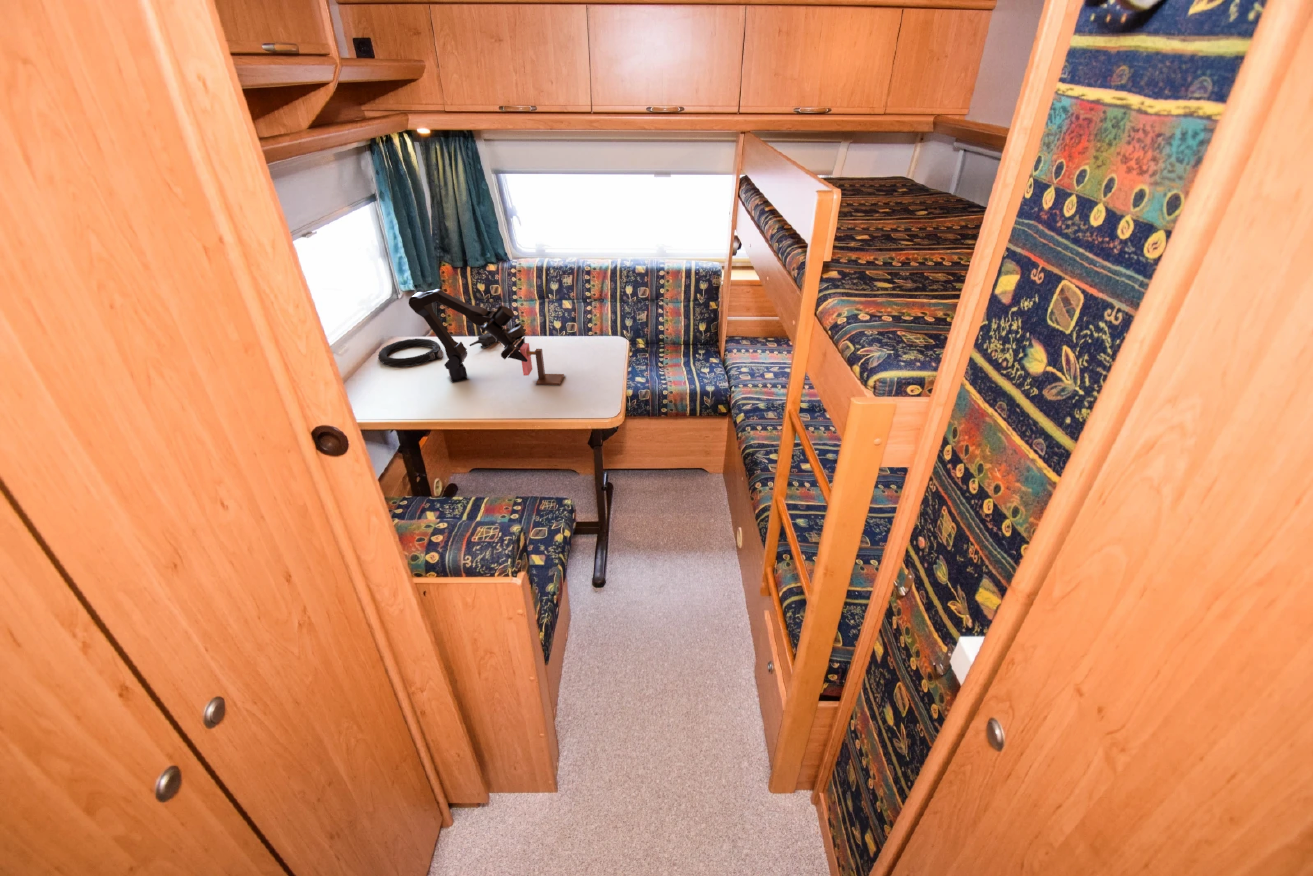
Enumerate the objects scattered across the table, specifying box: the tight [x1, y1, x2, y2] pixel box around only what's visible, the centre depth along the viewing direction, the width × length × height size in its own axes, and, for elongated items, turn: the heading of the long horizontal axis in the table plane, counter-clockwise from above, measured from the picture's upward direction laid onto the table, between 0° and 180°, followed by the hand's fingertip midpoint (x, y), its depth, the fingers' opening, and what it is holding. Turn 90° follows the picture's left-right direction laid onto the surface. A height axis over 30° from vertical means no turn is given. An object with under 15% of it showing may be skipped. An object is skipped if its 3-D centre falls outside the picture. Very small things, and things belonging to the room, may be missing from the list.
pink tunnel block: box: [519, 342, 533, 376], centre depth 245 cm, size 2×6×12 cm, turn 176°
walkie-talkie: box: [469, 332, 497, 349], centre depth 281 cm, size 6×6×20 cm
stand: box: [526, 348, 565, 386], centre depth 246 cm, size 15×9×14 cm, turn 86°
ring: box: [377, 338, 444, 367], centre depth 273 cm, size 28×4×30 cm
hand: (529, 358), depth 245 cm, fingers closed on pink tunnel block, 6 cm apart
